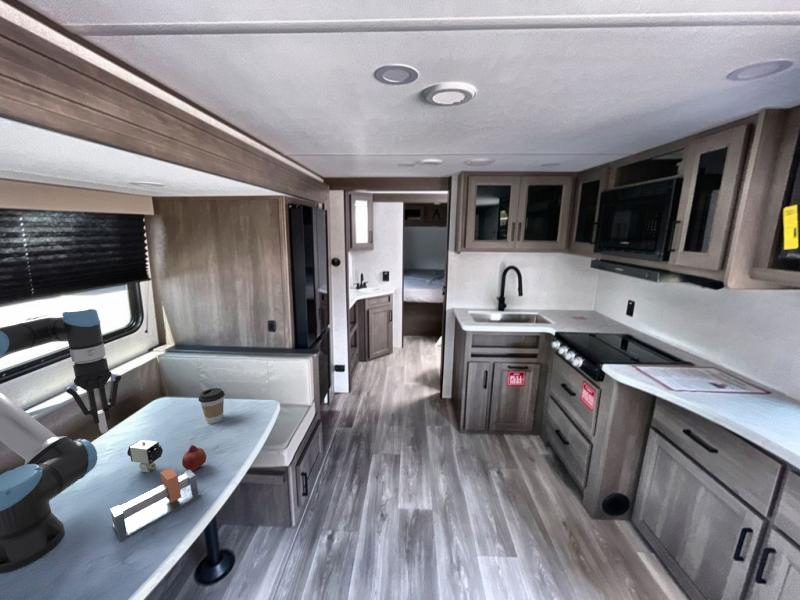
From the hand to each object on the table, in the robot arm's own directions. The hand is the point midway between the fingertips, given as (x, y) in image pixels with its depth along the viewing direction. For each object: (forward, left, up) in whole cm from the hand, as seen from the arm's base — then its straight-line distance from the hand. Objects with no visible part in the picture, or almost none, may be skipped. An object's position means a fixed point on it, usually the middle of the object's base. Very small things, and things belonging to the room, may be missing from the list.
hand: (103, 430), depth 104 cm
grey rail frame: (+8, -10, -29) cm, 32 cm away
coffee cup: (+45, +35, -30) cm, 64 cm away
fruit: (+24, +3, -30) cm, 38 cm away
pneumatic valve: (+13, +18, -30) cm, 37 cm away
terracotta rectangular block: (+12, -10, -27) cm, 31 cm away
